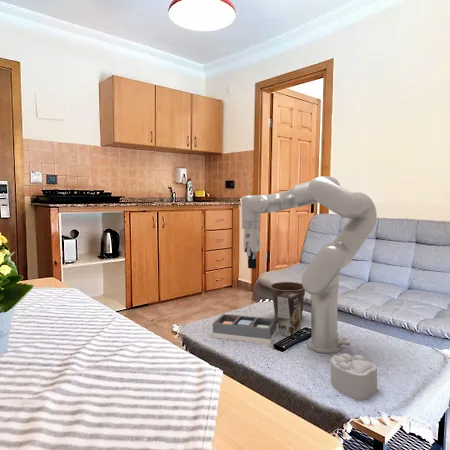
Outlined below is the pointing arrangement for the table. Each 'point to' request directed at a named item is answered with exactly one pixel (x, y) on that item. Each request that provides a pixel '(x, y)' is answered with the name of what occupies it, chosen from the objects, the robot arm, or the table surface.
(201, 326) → the table surface
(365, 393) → the lumpy-topped squat cylinder
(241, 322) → the key slate
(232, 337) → the base
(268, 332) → the frame
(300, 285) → the plant pot
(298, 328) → the coffee box
